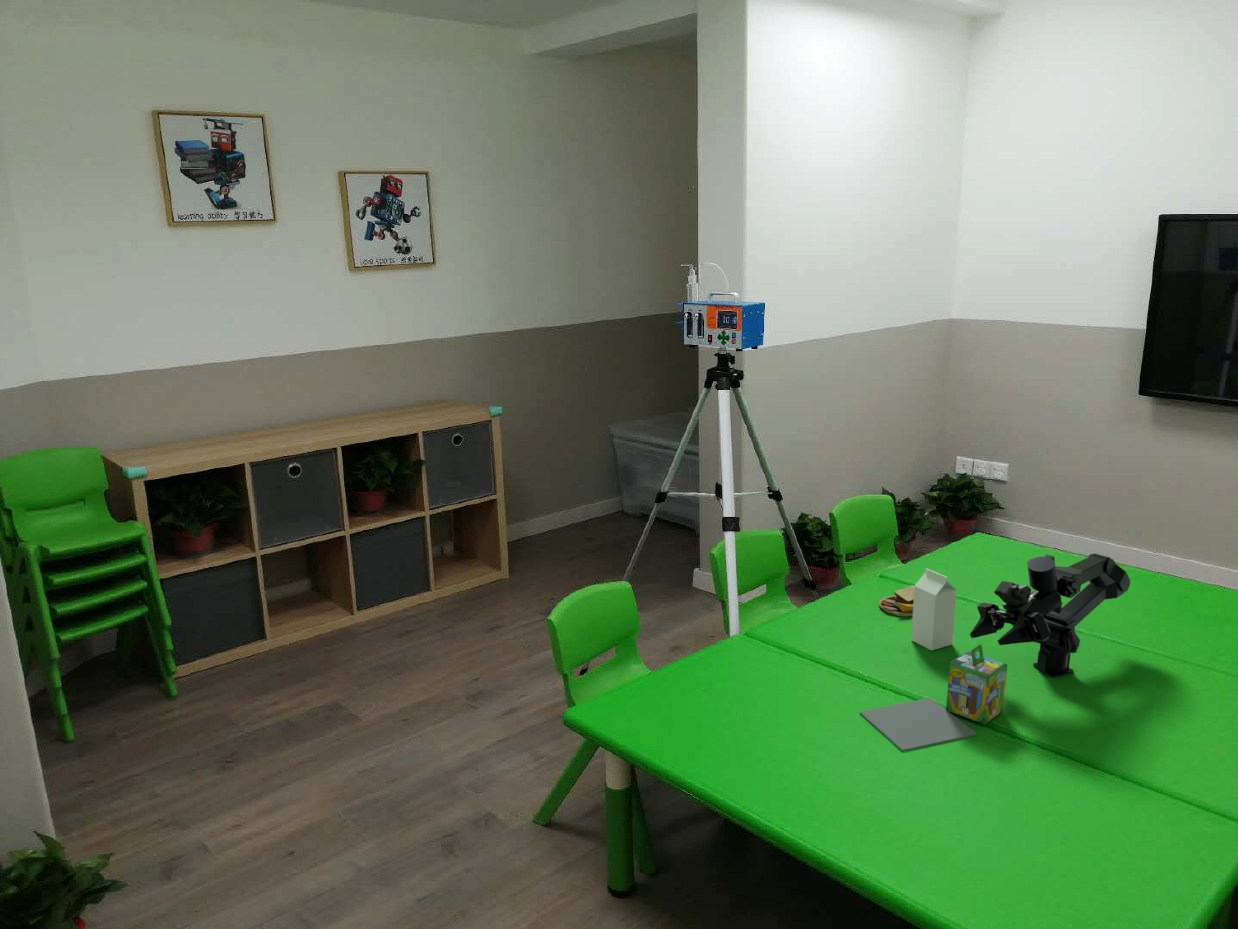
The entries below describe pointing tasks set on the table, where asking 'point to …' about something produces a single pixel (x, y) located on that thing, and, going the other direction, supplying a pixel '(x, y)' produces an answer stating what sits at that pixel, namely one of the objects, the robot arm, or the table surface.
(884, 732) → the topple mat
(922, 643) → the milk carton
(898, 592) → the toy sandwich meal
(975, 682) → the chalk box
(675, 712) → the table surface
